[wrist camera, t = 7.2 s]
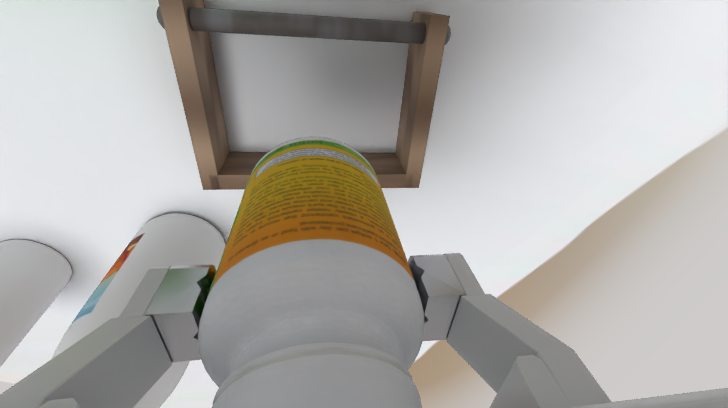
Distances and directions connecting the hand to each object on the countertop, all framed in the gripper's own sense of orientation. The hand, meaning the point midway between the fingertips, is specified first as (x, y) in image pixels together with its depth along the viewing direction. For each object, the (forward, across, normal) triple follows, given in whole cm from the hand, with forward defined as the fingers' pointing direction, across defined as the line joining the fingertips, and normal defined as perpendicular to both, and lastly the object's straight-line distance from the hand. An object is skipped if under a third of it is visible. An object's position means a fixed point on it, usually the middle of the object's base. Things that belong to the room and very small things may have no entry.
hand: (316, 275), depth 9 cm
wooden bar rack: (+19, 0, 0) cm, 19 cm away
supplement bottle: (+5, 0, 0) cm, 5 cm away
